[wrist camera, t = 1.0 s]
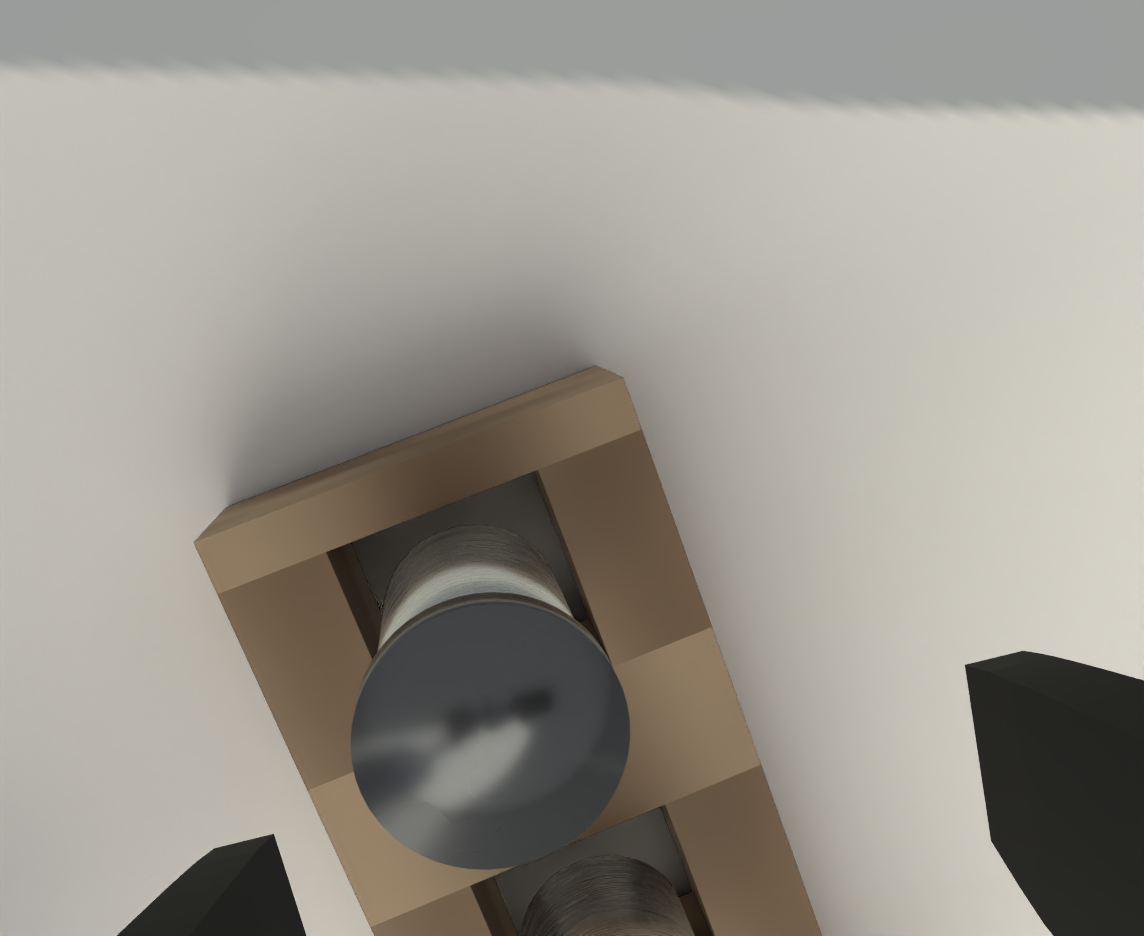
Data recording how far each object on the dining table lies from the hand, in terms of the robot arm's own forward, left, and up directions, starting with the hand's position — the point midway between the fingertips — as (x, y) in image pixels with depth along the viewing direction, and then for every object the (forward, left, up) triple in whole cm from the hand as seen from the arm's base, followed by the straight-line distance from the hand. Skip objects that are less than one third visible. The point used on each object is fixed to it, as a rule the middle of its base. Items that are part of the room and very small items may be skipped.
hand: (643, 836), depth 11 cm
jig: (-1, -7, -12) cm, 14 cm away
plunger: (-1, 0, -9) cm, 9 cm away
